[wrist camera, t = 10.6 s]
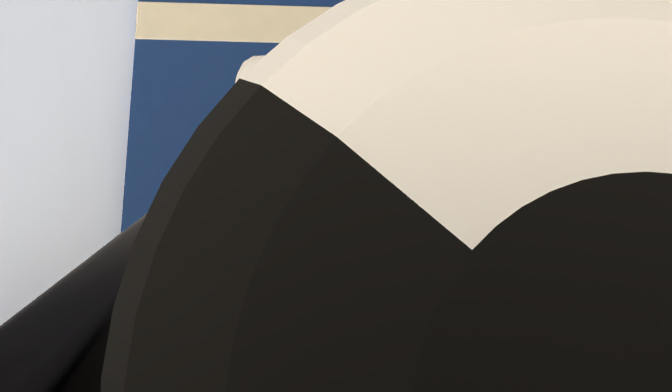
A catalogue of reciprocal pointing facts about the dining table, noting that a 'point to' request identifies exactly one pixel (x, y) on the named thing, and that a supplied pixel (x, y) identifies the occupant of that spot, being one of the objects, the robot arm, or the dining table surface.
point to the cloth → (192, 75)
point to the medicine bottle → (419, 210)
